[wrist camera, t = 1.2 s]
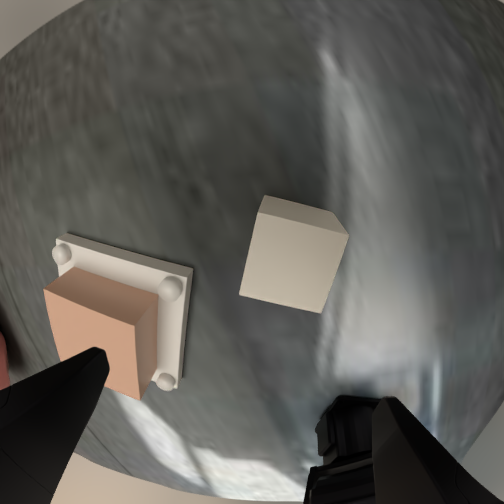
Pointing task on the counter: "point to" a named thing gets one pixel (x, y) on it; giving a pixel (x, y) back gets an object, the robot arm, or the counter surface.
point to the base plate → (145, 279)
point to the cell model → (3, 364)
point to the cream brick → (293, 254)
